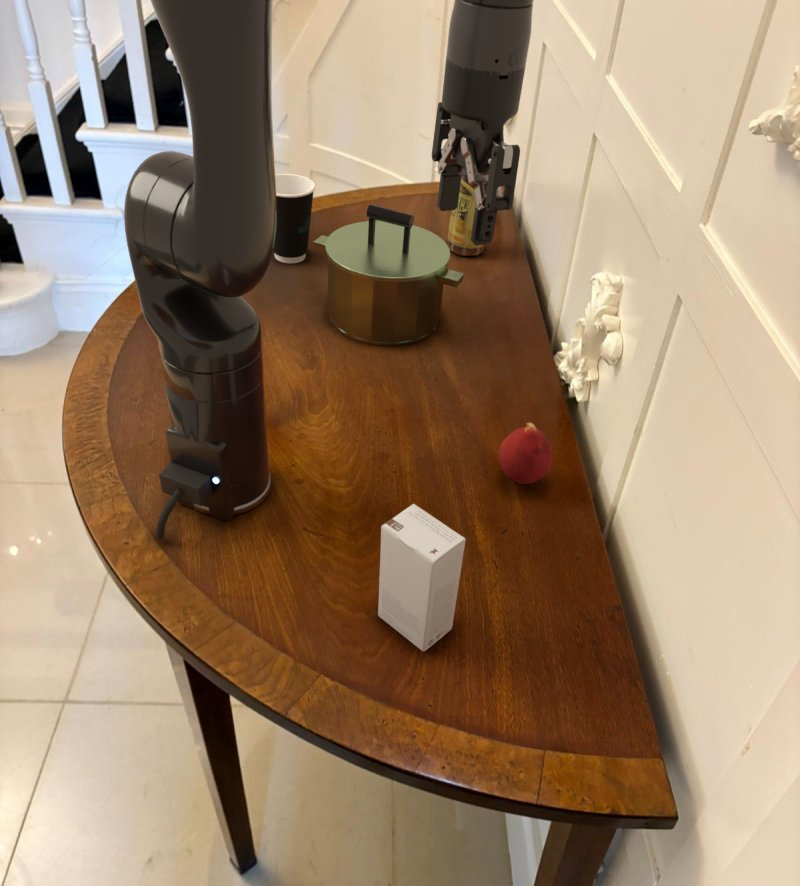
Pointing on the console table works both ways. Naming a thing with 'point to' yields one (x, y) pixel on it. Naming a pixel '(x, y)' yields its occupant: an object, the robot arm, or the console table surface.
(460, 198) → the sauce bottle
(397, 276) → the lid
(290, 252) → the dixie cup
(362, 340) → the pot
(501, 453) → the onion
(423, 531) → the cosmetic box
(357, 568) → the console table surface
